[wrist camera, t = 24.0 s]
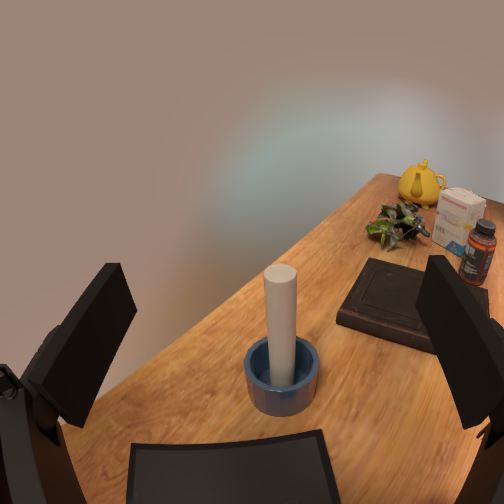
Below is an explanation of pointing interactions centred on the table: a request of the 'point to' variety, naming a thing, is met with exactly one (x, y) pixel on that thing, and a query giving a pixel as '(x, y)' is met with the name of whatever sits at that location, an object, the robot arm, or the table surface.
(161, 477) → the tablet
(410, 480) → the table surface
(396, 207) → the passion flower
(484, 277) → the supplement bottle
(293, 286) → the white cylindrical rod
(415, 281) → the dark brown flat block
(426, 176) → the teapot
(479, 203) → the ink box
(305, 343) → the pen pot
